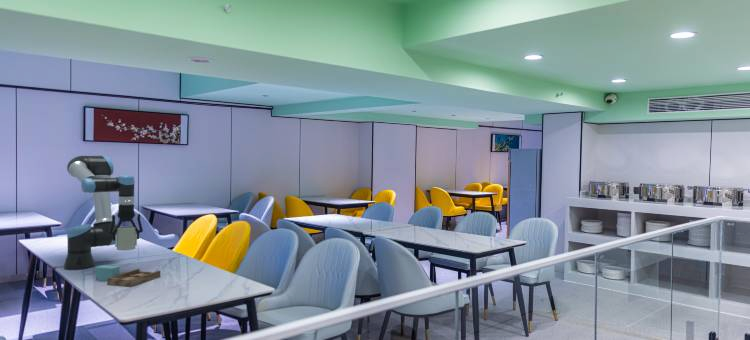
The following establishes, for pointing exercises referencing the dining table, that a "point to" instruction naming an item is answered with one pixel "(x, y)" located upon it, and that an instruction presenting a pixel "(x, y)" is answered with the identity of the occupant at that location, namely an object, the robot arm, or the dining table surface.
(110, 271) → the wing block
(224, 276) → the dining table surface
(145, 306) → the dining table surface
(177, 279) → the dining table surface
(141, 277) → the cradle jig
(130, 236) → the can
